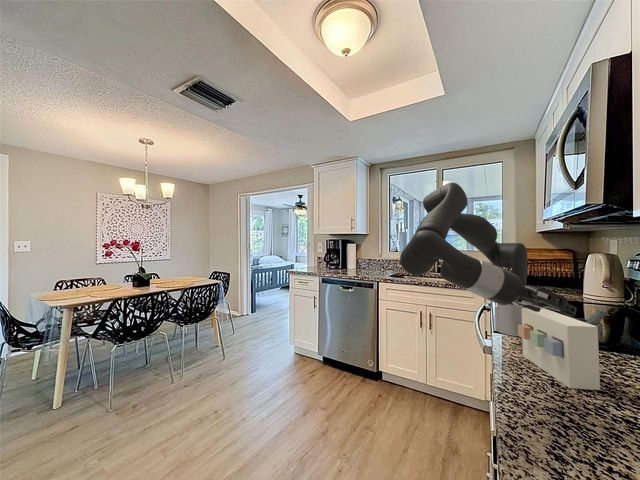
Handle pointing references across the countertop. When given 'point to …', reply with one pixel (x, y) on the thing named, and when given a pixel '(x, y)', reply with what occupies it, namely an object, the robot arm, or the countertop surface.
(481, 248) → the robot arm
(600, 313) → the mortar and pestle
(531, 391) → the countertop surface
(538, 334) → the sage button
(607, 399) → the countertop surface
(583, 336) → the control box
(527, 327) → the terracotta button
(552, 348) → the blue button
